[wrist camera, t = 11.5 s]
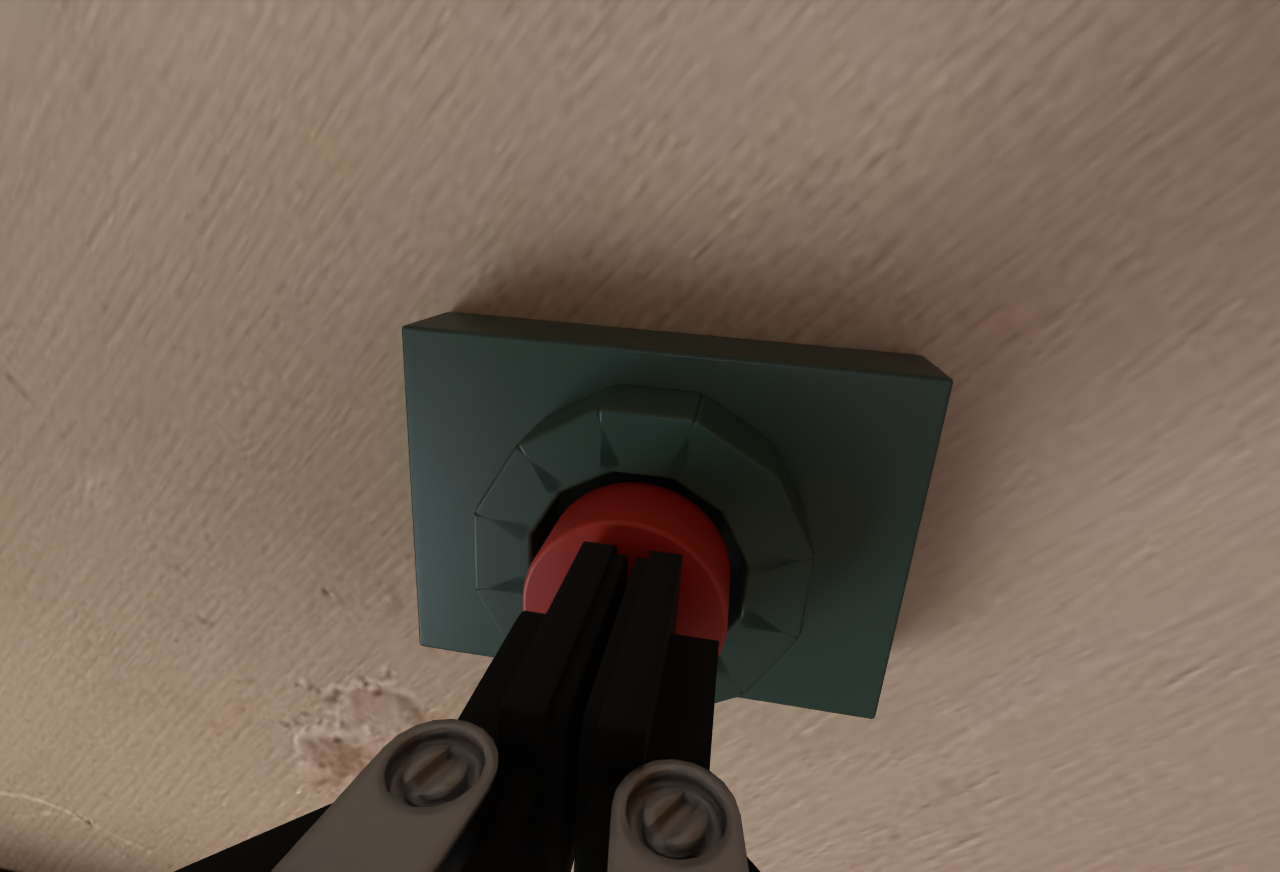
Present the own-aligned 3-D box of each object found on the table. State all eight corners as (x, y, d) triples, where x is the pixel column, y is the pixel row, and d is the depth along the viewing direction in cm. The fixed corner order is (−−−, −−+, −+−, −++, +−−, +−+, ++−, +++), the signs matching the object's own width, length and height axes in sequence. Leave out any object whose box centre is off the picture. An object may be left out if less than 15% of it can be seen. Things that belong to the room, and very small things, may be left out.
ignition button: (547, 628, 13) (520, 685, 12) (551, 469, 12) (521, 507, 11) (720, 654, 13) (716, 718, 11) (740, 493, 12) (739, 536, 10)
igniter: (456, 597, 18) (380, 697, 14) (446, 311, 15) (349, 340, 12) (859, 659, 17) (891, 786, 13) (924, 355, 14) (989, 405, 10)
